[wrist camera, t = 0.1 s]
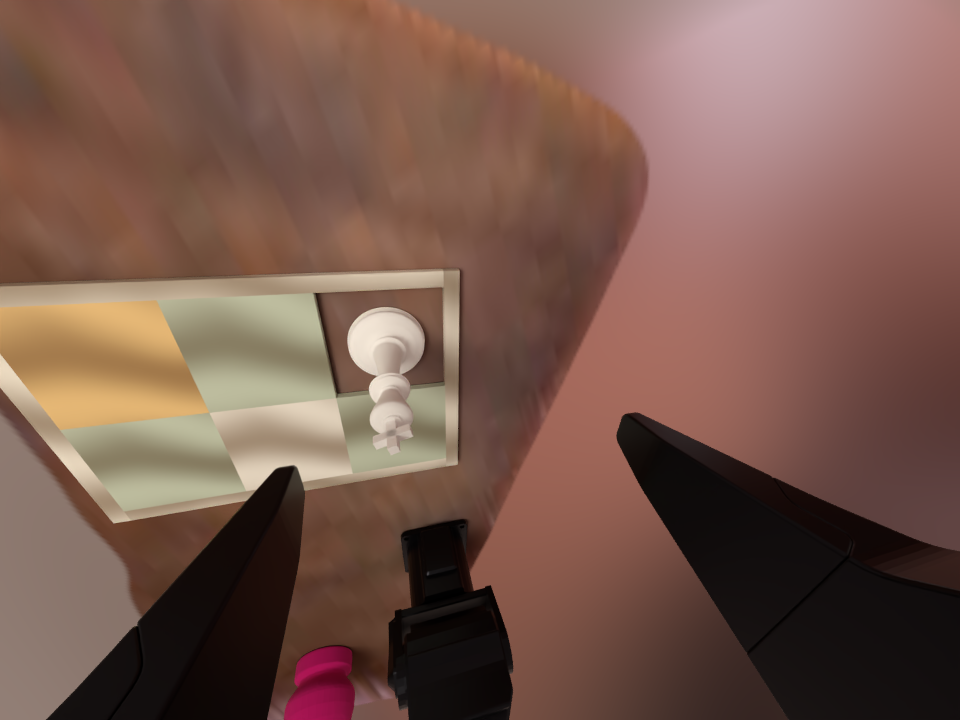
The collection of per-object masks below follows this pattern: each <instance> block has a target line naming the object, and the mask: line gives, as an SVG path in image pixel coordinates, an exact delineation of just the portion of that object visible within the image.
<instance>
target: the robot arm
mask: <svg viewBox="0 0 960 720" xmlns="http://www.w3.org/2000/svg"><path fill="white" fill-rule="evenodd" d="M617 441H618V444H619V446H620V448H621V449H622V452H623V454H624V456H625V457H626V459H627V461H628V463H629V465H630V467H631V469H632V471H633V473H634V475H635V477H636V479H637V481H638V483H639V484H640V486H641V488H642V490H643V491H644V493H645V495H646V496H647V498H648V499H649V501H650V503H651V504H652V506H653V507H654V509H655V510H656V512H657V514H658V515H659V517H660V518H661V520H662V521H663V523H664V525H665V526H666V528H667V529H668V531H669V532H670V534H671V535H672V537H673V539H674V540H675V542H676V543H677V545H678V546H679V548H680V550H681V551H682V553H683V554H684V556H685V557H686V559H687V561H688V562H689V564H690V565H691V567H692V568H693V570H694V572H695V573H696V575H697V576H698V578H699V579H700V581H701V582H702V584H703V586H704V587H705V589H706V590H707V592H708V594H709V595H710V597H711V598H712V600H713V601H714V603H715V604H716V606H717V608H718V609H719V611H720V612H721V614H722V616H723V617H724V619H725V620H726V622H727V623H728V625H729V627H730V628H731V630H732V631H733V633H734V634H735V636H736V638H737V639H738V641H739V642H740V644H741V645H742V647H743V648H744V650H745V651H746V652H747V655H748V657H749V658H750V660H751V661H752V663H753V665H754V666H755V668H756V669H757V671H758V672H759V674H760V676H761V677H762V679H763V680H764V682H765V683H766V685H767V687H768V688H769V690H770V691H771V693H772V694H773V696H774V697H775V699H776V701H777V702H778V703H779V705H780V707H781V708H782V710H783V712H784V713H785V715H786V716H787V718H788V720H960V551H955V550H950V549H946V548H942V547H938V546H934V545H931V544H928V543H924V542H921V541H919V540H916V539H913V538H911V537H909V536H906V535H904V534H902V533H899V532H897V531H894V530H892V529H890V528H887V527H885V526H883V525H880V524H878V523H876V522H873V521H871V520H868V519H866V518H864V517H861V516H859V515H857V514H854V513H852V512H850V511H847V510H845V509H842V508H840V507H837V506H836V505H833V504H831V503H829V502H826V501H824V500H822V499H819V498H817V497H815V496H813V495H811V494H808V493H806V492H804V491H802V490H799V489H798V488H795V487H793V486H791V485H789V484H787V483H785V482H783V481H781V480H778V479H776V478H772V477H771V476H770V475H768V474H766V473H764V472H762V471H759V470H757V469H755V468H753V467H751V466H749V465H747V464H745V463H743V462H741V461H739V460H736V459H734V458H732V457H730V456H728V455H726V454H724V453H722V452H720V451H718V450H715V449H713V448H711V447H709V446H707V445H705V444H703V443H701V442H699V441H696V440H694V439H692V438H690V437H688V436H686V435H684V434H682V433H680V432H678V431H675V430H673V429H671V428H669V427H667V426H665V425H662V424H661V423H659V422H657V421H655V420H652V419H650V418H648V417H646V416H644V415H642V414H640V413H628V414H625V415H623V417H622V419H621V422H620V425H619V428H618V431H617ZM304 500H305V490H304V486H303V483H302V480H301V477H300V474H299V471H298V468H297V467H296V466H295V465H290V466H284V467H278V468H276V469H275V470H274V471H273V472H272V473H271V474H270V475H269V476H268V477H267V479H266V480H265V481H264V482H263V483H262V484H261V485H260V486H259V487H258V489H257V490H256V491H255V492H254V493H253V494H252V495H251V496H250V497H249V499H248V500H247V501H246V502H245V503H244V504H243V505H242V506H241V507H240V509H239V510H238V511H237V512H236V513H235V514H234V515H233V516H232V518H231V519H230V520H229V521H228V522H227V523H226V524H225V525H224V526H223V528H222V529H221V530H220V531H219V532H218V533H217V534H216V535H215V536H214V538H213V539H212V540H211V541H210V542H209V543H208V544H207V545H206V546H205V548H204V549H203V550H202V551H201V552H200V553H199V554H198V555H197V556H196V558H195V559H194V560H193V561H192V562H191V563H190V564H189V565H188V566H187V568H186V569H185V570H184V571H183V572H182V573H181V574H180V575H179V576H178V578H177V579H176V580H175V581H174V582H173V583H172V584H171V585H170V586H169V588H168V589H167V590H166V591H165V592H164V593H163V594H162V595H161V597H160V598H159V599H158V600H157V601H156V602H155V603H154V604H153V605H152V607H151V608H150V609H149V610H148V611H147V612H146V613H145V614H144V615H143V617H142V618H141V619H140V620H139V621H138V624H137V625H138V626H134V627H133V628H132V629H131V630H130V631H129V632H128V633H127V634H126V635H125V636H124V637H123V639H122V640H121V641H120V642H119V643H118V644H117V645H116V646H115V648H114V649H113V650H112V651H111V652H110V653H109V654H108V655H107V656H106V657H105V658H104V659H103V660H102V662H101V663H100V664H99V665H98V666H97V667H96V668H95V669H94V670H93V671H92V672H91V673H90V675H89V676H88V677H87V678H86V679H85V680H84V681H83V682H82V683H81V684H80V685H79V686H78V687H77V689H76V690H75V691H74V692H73V693H72V694H71V695H70V696H69V697H68V698H67V699H66V700H65V701H64V702H63V703H62V704H61V705H60V706H59V707H58V708H57V709H56V710H55V711H54V712H53V713H52V714H51V715H50V716H49V717H48V718H47V719H46V720H267V717H268V712H269V707H270V702H271V697H272V692H273V688H274V683H275V678H276V673H277V668H278V663H279V658H280V653H281V648H282V643H283V639H284V634H285V629H286V624H287V619H288V614H289V609H290V604H291V599H292V594H293V590H294V585H295V580H296V575H297V570H298V564H299V557H300V547H301V535H302V524H303V512H304ZM466 539H467V524H466V521H465V520H461V521H456V522H451V523H446V524H442V525H437V526H432V527H427V528H423V529H418V530H413V531H409V532H405V533H403V534H402V535H401V543H402V550H403V558H404V565H405V571H406V572H408V573H409V583H410V595H411V608H408V609H404V610H401V609H399V610H395V618H394V619H393V620H392V621H391V622H389V660H388V686H389V687H390V688H391V689H392V690H393V691H394V692H395V695H396V698H398V704H399V709H400V710H403V709H406V708H408V715H409V720H509V716H510V709H511V702H512V695H513V688H512V683H511V678H510V675H509V674H511V673H512V672H513V661H512V654H511V649H510V643H509V639H508V635H507V631H506V628H505V625H504V622H503V619H502V616H501V613H500V611H499V608H498V605H497V602H496V599H495V596H494V593H493V590H492V588H491V585H490V586H486V587H485V588H483V589H479V590H476V591H474V590H473V586H472V581H471V577H470V572H469V568H468V563H467V559H466Z"/></svg>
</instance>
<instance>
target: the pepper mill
mask: <svg viewBox="0 0 960 720" xmlns="http://www.w3.org/2000/svg"><path fill="white" fill-rule="evenodd" d="M351 670H352V651H351V650H350V649H349V648H347V647H344V646H328V647H323V648H320V649H316V650H314V651H311V652H309V653H307V654H306V655H304V656H303V657H302V658H301V659H300V660H299V661H298V663H297V667H296V674H295V684H296V685H297V686H298V688H297V690H296V691H295V692H294V694H293V695H292V696H291V698H290V699H289V701H288V703H287V705H286V709H285V715H284V720H351V717H352V713H353V708H354V699H355V690H354V687H353V685H352V683H351V682H350V681H349V679H348V678H347V676H348V675H349V673H350V672H351Z"/></svg>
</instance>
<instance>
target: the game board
mask: <svg viewBox="0 0 960 720" xmlns="http://www.w3.org/2000/svg"><path fill="white" fill-rule="evenodd" d="M459 285H460V270H459V269H458V268H450V269H419V270H389V271H359V272H329V273H299V274H269V275H239V276H209V277H179V278H149V279H118V280H88V281H58V282H28V283H0V388H1V389H2V390H3V391H4V392H5V394H6V395H7V396H8V397H9V398H10V400H11V401H12V402H13V403H14V404H15V406H16V407H17V408H18V409H19V410H20V412H21V413H22V414H23V415H24V416H25V418H26V419H27V420H28V421H29V422H30V424H31V425H32V426H33V427H34V428H35V430H36V431H37V432H38V433H39V434H40V436H41V437H42V438H43V439H44V440H45V442H46V443H47V444H48V445H49V446H50V448H51V449H52V450H53V451H54V452H55V454H56V455H57V456H58V457H59V458H60V460H61V461H62V462H63V463H64V464H65V466H66V467H67V468H68V469H69V470H70V472H71V473H72V474H73V475H74V476H75V478H76V479H77V480H78V481H79V482H80V484H81V485H82V486H83V487H84V488H85V490H86V491H87V492H88V493H89V494H90V496H91V497H92V498H93V499H94V500H95V502H96V503H97V504H98V505H99V506H100V508H101V509H102V510H103V511H104V512H105V514H106V515H107V516H108V517H109V518H110V520H111V521H112V522H113V523H119V522H125V521H131V520H136V519H142V518H148V517H154V516H160V515H166V514H171V513H177V512H183V511H189V510H195V509H200V508H206V507H212V506H218V505H224V504H230V503H235V502H241V501H247V500H248V499H249V497H250V496H251V495H252V494H253V493H254V492H255V491H256V490H257V489H258V487H259V486H260V485H261V484H262V483H263V482H264V481H265V480H266V479H267V477H268V476H269V475H270V474H271V473H272V472H273V471H274V470H275V469H276V468H278V467H284V466H290V465H295V466H296V467H297V468H298V471H299V474H300V477H301V480H302V483H303V486H304V490H311V489H317V488H323V487H329V486H335V485H340V484H346V483H352V482H358V481H364V480H370V479H375V478H381V477H387V476H393V475H399V474H405V473H410V472H416V471H422V470H428V469H434V468H440V467H445V466H451V465H457V464H458V382H459ZM434 287H442V290H443V352H444V382H439V383H430V384H421V385H412V386H410V387H411V390H410V394H409V396H408V398H407V399H406V402H407V403H408V405H409V406H410V408H411V409H412V411H413V422H412V424H411V425H410V426H411V428H412V431H413V437H411V438H408V439H405V440H402V441H400V450H401V452H399V453H396V454H393V455H390V453H389V451H388V450H387V446H386V447H383V448H380V449H378V450H376V448H375V446H374V445H373V436H375V435H378V434H380V433H378V432H377V431H375V430H374V429H373V428H372V426H371V424H370V414H371V412H372V410H373V408H374V406H375V405H376V403H375V402H374V401H373V399H372V398H371V396H370V393H369V390H367V391H358V392H350V393H341V394H337V392H336V387H335V383H334V378H333V373H332V369H331V364H330V360H329V355H328V350H327V346H326V341H325V336H324V332H323V327H322V323H321V318H320V313H319V309H318V304H317V299H316V295H315V293H325V292H347V291H368V290H390V289H412V288H434Z"/></svg>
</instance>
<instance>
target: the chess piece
mask: <svg viewBox="0 0 960 720" xmlns="http://www.w3.org/2000/svg"><path fill="white" fill-rule="evenodd" d="M424 343H425V337H424V332H423V329H422V327H421V325H420V324H419V322H418V321H417V320H416V319H415V318H414V317H413V316H412V315H410V314H409V313H407V312H405V311H403V310H401V309H397V308H392V307H379V308H375V309H371V310H369V311H367V312H365V313H363V314H362V315H360V316H359V317H358V318H357V319H356V320H355V321H354V322H353V324H352V325H351V327H350V330H349V333H348V348H349V352H350V355H351V357H352V359H353V361H354V362H355V363H356V364H357V365H358V366H359V367H360V368H361V369H362V370H364V371H365V372H367V373H369V374H372V375H375V376H377V377H376V378H374V379H373V381H372V382H371V384H370V386H369V393H370V396H371V398H372V399H373V401H374V402H375V403H376V405H375V406H374V408H373V410H372V412H371V414H370V424H371V426H372V428H373V429H374V430H375V431H377V432H378V433H380V434H378V435H375V436H373V445H374V446H375V448H376V450H378V449H380V448H383V447H386V446H387V450H388V451H389V453H390V455H393V454H396V453H399V452H401V450H400V441H402V440H405V439H408V438H411V437H413V431H412V428H411V426H410V425H411V424H412V422H413V411H412V409H411V408H410V406H409V405H408V403H407V402H406V399H407V398H408V396H409V394H410V390H411V387H410V383H409V381H408V380H407V378H405V377H404V376H403V375H401V374H403V373H405V372H407V371H409V370H410V369H412V368H413V367H414V366H415V365H416V364H417V363H418V362H419V360H420V359H421V357H422V354H423V351H424Z"/></svg>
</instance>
